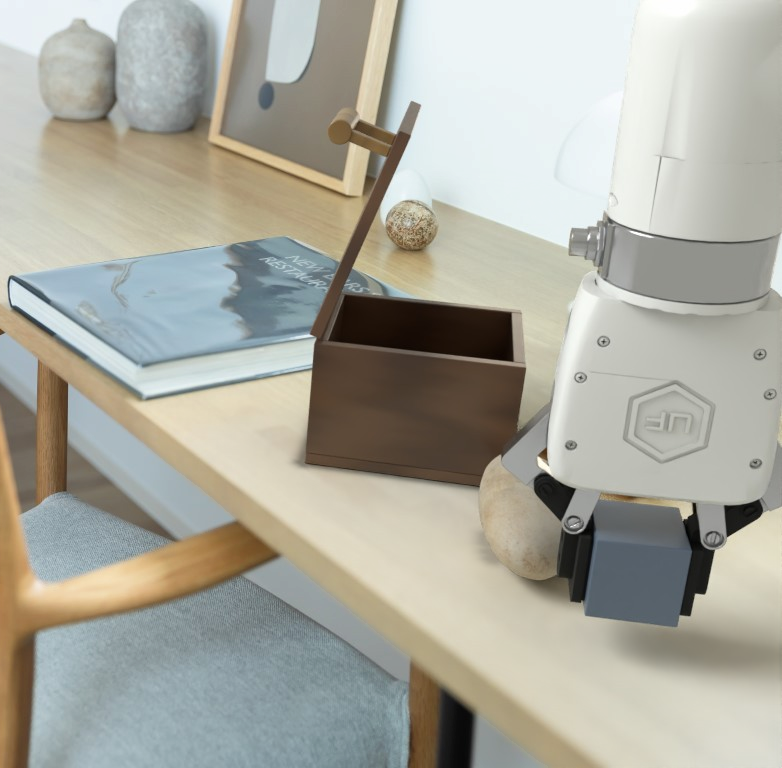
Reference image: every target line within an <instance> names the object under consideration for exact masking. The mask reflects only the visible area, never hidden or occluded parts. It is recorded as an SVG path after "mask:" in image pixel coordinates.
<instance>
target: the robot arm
mask: <svg viewBox="0 0 782 768" xmlns="http://www.w3.org/2000/svg"><path fill="white" fill-rule="evenodd" d="M628 50H629V51H628V57H627V62H626V63H627V64H626V71H625V77H624V86H623V92H622V99H621V107H620V114H619V120H618V127H617V134H616V142H615V148H614V155H613V163H612V168H611V169H612V170H611V177H610V185H609V191H608V197H607V205H606V210H603V213H602V220H597V222H596V224H595V225H594V226H593V225H588V226H587V228H583V227H571V229H570V233H569V239H568V256H569V257H582V258H583V259H584V261H592V265H593V267H596V268H597V270H596V269H595V270H591V271H589V272H586V273H585V274H584V275H583V276H582V279H581V282H580V284H579V286H578V289H577V292H576V295H575V298H574V301H573V303H572V306H571V309H570V312H569V315H568V318H567V319H568V320H567V323H566V326H565V330H564V333H563V337H562V341H561V346H560V349H559V353H558V359H557V363H556V369H555V372H554V377H553V381H552V388H551V393H550V398H549V401H548V403H546V404H545V405H544V406H543V407H542V408H541V409H540V410H539V411H538V412H537V413H536V414H534V416H533V417H532V418H530V420H529V421H527V422H526V424H524V425H523V426H522V427H521V428H520V429H519V430H517V432H516V434H515V435H514V436H513V437H512V438H511V439H510V440H509V441H508V442H507V443H506V444H505V445H504V446H503V447H502V450H501V463H502V466H503V467H504V468H505V469H506V470H508V471H509V472H510V473H511V474H513V475H514V476H515V477H516V478H518V479H519V480H520V481H521V482H522V483H524V484H525V485H526V486H527V485H528V486H529V487H530V488H531V489H533V490H534V492H535V494H536V495H537V496H538V498H539V499H540V500H541V501H542V502H543V503H544V504H545V505H546V506H547V507H548V508H549V509H550V511H551V512H552V513H553V514H554V515H555V516H556V517H557V518H558V519H559V520H560V521H561V523H562V529H561V536H560V543H559V550H558V557H557V575H556V577H557V578H563V579H567V583H568V593H569V601H570V603H577V604H582V602H583V601H584V600H585V594H586V588H587V582H588V575H589V569H590V563H591V556H592V550H593V543H594V536H593V530H592V523H591V522H592V521H591V515H592V513H593V511H594V508H595V506H596V504H597V502H598V500H599V499H601V495H602V494H609V495H618V496H626V497H637V498H646V499H654V500H655V499H656V500H665V501H676V502H684V503H690V504H691V505H690V506H691V513H692V514H690V515H688V516H687V518H682V520H683V523H684V526H685V530H686V533H687V536H688V540H689V543H690V546H691V550H692V555H691V560H690V565H689V570H688V575H687V580H686V585H685V590H684V596H683V601H682V606H681V611H680V616H683V617H691V616H692V611H693V607H694V604H695V603H694V602H695V598H696V595H702V596H705V595H706V594H707V591H708V588H709V587H708V586H709V583H710V576H711V572H712V567H713V562H714V559H715V553H716V551H717V550H720V549H722V548H723V547H724V546H725V545H726V543H727V542H728V541H727V540H728V538H729V537H730V536H732V535H734V534H735V533H737V532H739V531H741V530H743V529H744V528H745V527H748V526H749V525H751V524H752V523H754V522H755V521H757V520H759V519H760V518H761V517H762V516H763V514H764V513H766V512H772V511H775V510H777V509H779V508H781V507H782V444H781V443H780V441H779V431H780V425H781V424H780V423H781V416H782V296H781V295H780V293H779V292H778V291H776V289H774V288H772V287H771V286H772V282H773V278H774V272H775V268H776V263H777V258H778V254H779V249H780V242H781V239H782V0H639V2H638V3H637V7H636V9H635V12H634V17H633V23H632V28H631V34H630V41H629V49H628ZM545 449H546V453H547V454H546V456H547V461H548V464H549V465H547V464H545V463H544V462H543V461H542V459H541V458H542V457H540V456H539V455H540V454H541V453H542V452H543V451H544V450H545ZM539 457H540V458H539Z"/></svg>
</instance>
